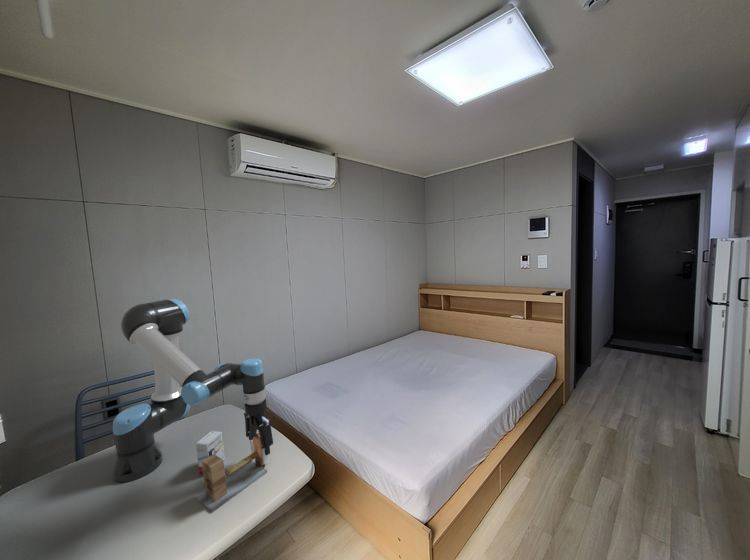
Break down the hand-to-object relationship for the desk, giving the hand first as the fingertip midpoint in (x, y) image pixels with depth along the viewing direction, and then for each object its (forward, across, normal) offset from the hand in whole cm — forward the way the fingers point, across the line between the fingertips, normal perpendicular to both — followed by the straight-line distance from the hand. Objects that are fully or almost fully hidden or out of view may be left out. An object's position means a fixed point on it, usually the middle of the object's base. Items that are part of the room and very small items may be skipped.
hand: (261, 458), depth 114 cm
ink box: (+3, -17, -10) cm, 20 cm away
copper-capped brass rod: (+2, 0, -6) cm, 6 cm away
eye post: (+3, 0, -11) cm, 12 cm away
